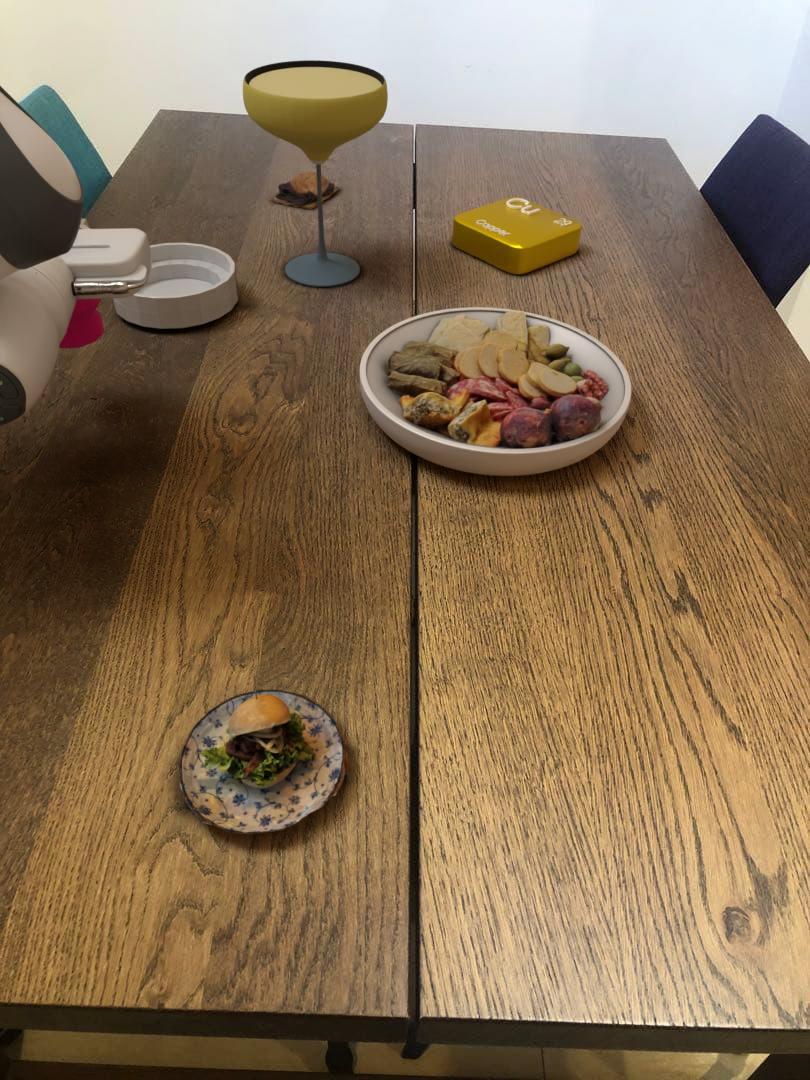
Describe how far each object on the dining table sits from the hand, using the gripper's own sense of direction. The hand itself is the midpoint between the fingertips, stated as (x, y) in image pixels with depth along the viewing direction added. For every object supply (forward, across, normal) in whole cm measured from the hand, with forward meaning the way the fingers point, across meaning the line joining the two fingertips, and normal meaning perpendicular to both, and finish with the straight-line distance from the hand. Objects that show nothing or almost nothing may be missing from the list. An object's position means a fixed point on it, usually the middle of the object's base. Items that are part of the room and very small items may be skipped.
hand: (48, 226), depth 79 cm
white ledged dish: (+23, -8, +20) cm, 31 cm away
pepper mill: (-1, 0, +11) cm, 11 cm away
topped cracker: (+61, -27, +20) cm, 69 cm away
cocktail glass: (+32, -28, +20) cm, 47 cm away
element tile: (+38, -58, +20) cm, 72 cm away
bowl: (-5, -45, +20) cm, 49 cm away
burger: (-49, -19, +20) cm, 56 cm away
